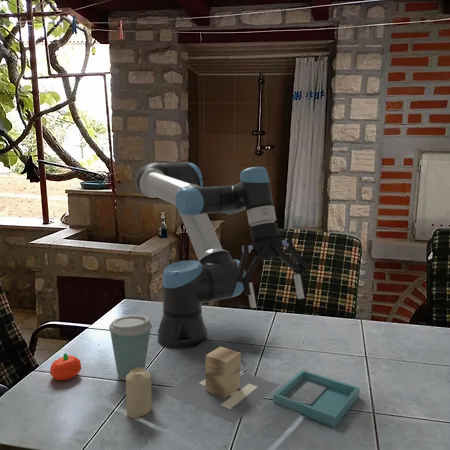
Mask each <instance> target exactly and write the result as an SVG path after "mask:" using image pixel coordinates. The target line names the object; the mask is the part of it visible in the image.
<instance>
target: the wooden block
mask: <svg viewBox="0 0 450 450" xmlns="http://www.w3.org/2000/svg"><path fill="white" fill-rule="evenodd" d="M241 354H242V353H241V352H239V351H236V350H233V349H231V348H228V347H227V348H226V347H223V346H218V347H217V348H215V349H214V350H212V351H210V352H209V353H207V354H205V367H204V368H205V390H206V391H209V392H211V393H214V394H216V395H219V396H221V397H224V398H227V397H228V396H229V395H231V394H232V393H233V392H235V391H236V390H237V389H239V388H240V371H241V363H242V361H241V360H242V359H241V357H242V356H241Z"/></svg>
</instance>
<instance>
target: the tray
mask: <svg viewBox="0 0 450 450" xmlns="http://www.w3.org/2000/svg"><path fill="white" fill-rule="evenodd" d="M303 379H305V380H309V381H312V382H314V383H316V384H321V385H324V386H327V387H325V389H324V390H323V391H322V392H321V393H320V394H319V395H318V396H317V397H316V398H315V399H314V400H313V402H311V404H310V405H308V404H306V403H303V402H300V401H297V400H295V399H291V398H289V397H287V396H285V395H286V394H288V393H289V392H290V391H291V390H292V389H293V388H294V387H295V386H297V384H299V383H301V381H302V380H303ZM360 389H361V388H360V387H358V386H355V385H352V384H348V383H346V382H342V381H339V380H336V379H334V378H331V377H328V376H327V377H326V376H324V375H321V374H317V373H315V372H311V371H308V370H304V369H301V370H299V372H298V373H296V374H295V376H293V377H291V379H290V380H288V381H287V382H286V383H285V384H284V385H283V386H282V387H280V388H279V389H278V390H277V391H276V392H275V393H274V394H273V395H272V397H273V398H272V402H273V403H277V404H278V405H281V406H284V407H287V408H289V409H292V410H294V411H298V412H300V413H301V414H300V416H301V417H305V418H307V419H309V420H312V421H315V422H318V423H320V424H323V425H326V426H328V427H331V428H334V429H335V428H336V427H337V426H338V425H339V423H340V422H341V421H342V420H343V419H344V417H345V416H346V414H348V412H349V411H350V409H352V407H353V406H354V405H355V403H356V402H358V400H359V398H360Z"/></svg>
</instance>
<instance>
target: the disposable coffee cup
mask: <svg viewBox="0 0 450 450" xmlns="http://www.w3.org/2000/svg"><path fill="white" fill-rule="evenodd" d="M152 325H153V324H152V323H151V320H150V318H149V317H148V316H146V315H141V314H138V315H137V314H134V315H133V314H131V315H126V316H121V317H118V318H115V319H114V320H113V321H112V322H111V323H110V324H109V326H108V327H109V328H108V329H109V331H110V332H109V333H110V339H111V343H112V350H113V356H114V362H115V369H116V373H117V376H118V377H119V379H121V380H124V381H126V376H127V375H128V374H129V373H130V371H131V370H134V369H136V368H144V369H145V368H146V361H147V354H148V347H149V341H150V336H151V335H150V334H151V329H152V328H153V326H152ZM145 370H146V369H145Z"/></svg>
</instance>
